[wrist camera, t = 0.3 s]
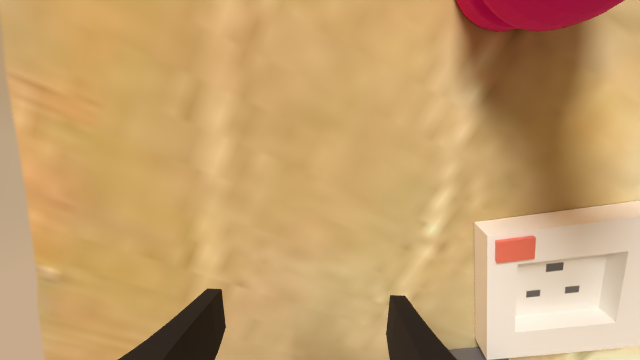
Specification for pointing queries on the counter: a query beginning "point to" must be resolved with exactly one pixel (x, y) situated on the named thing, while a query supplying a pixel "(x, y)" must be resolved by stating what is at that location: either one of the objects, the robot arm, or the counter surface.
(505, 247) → the socket plate
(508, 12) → the pepper mill
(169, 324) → the robot arm
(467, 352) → the plug
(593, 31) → the counter surface
